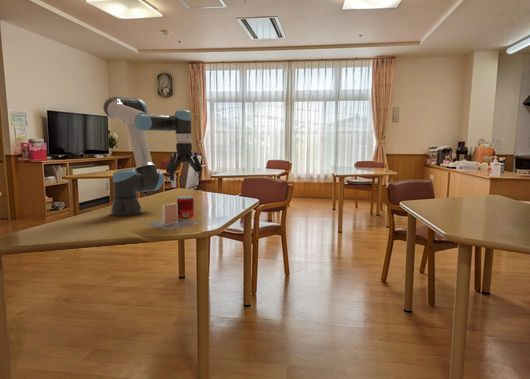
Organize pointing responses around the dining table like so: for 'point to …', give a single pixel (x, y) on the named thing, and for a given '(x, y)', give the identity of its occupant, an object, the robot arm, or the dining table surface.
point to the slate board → (179, 224)
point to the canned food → (185, 206)
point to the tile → (169, 213)
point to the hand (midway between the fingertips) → (185, 186)
